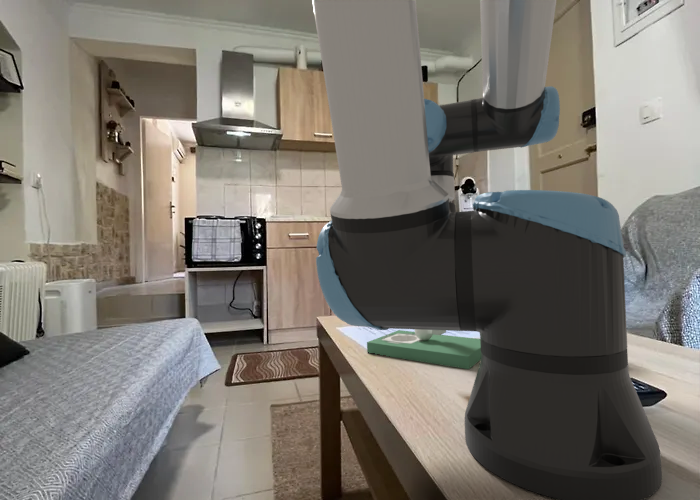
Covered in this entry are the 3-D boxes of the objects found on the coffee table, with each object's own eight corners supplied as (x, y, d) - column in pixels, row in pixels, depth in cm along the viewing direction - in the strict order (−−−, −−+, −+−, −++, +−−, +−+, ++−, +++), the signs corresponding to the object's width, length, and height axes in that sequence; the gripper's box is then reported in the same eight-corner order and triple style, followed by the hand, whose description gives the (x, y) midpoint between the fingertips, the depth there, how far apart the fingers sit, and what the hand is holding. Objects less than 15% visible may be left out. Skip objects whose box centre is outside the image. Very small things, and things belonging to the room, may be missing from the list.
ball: (411, 321, 67) (410, 339, 68) (427, 325, 65) (426, 344, 65) (421, 318, 70) (420, 336, 70) (437, 322, 67) (436, 340, 68)
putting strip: (468, 369, 56) (468, 356, 56) (367, 352, 68) (366, 342, 68) (491, 351, 66) (490, 340, 66) (399, 339, 77) (398, 330, 77)
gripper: (476, 200, 65) (482, 333, 65) (411, 208, 73) (416, 326, 73) (461, 196, 59) (467, 342, 59) (392, 205, 67) (397, 333, 67)
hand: (439, 333), depth 66 cm, fingers closed
